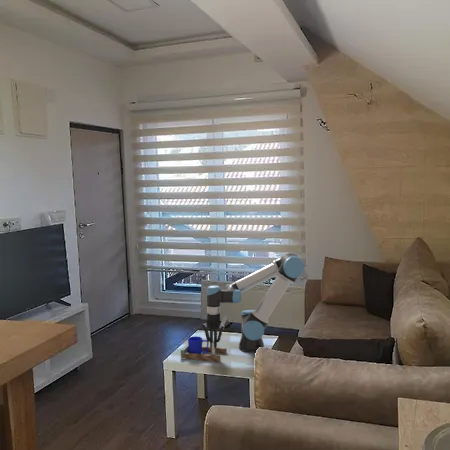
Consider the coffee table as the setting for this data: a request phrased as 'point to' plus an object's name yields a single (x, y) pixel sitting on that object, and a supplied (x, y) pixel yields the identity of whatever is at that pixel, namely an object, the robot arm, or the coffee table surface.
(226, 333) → the coffee table surface
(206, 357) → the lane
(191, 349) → the mug
